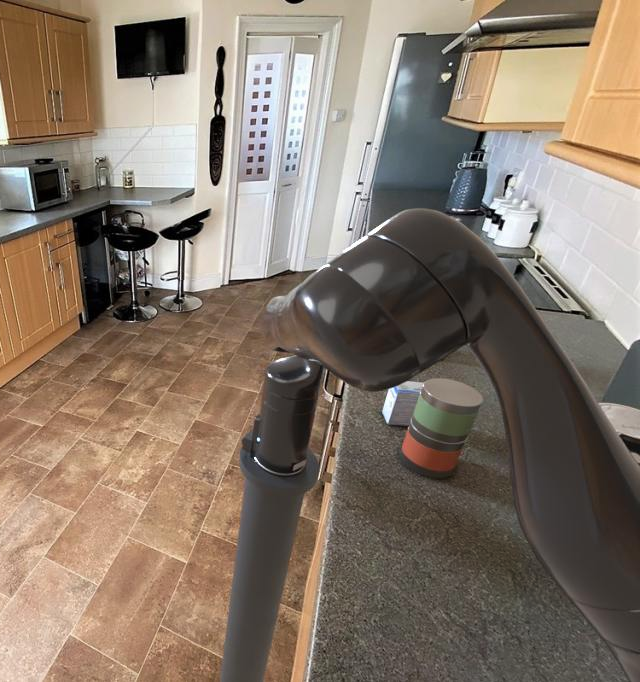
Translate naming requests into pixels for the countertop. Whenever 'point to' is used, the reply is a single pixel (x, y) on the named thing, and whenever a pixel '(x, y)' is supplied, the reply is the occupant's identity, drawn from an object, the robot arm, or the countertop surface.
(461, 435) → the tin stack
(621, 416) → the beer glass
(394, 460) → the countertop surface
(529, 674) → the countertop surface
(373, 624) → the countertop surface
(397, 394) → the medicine box
